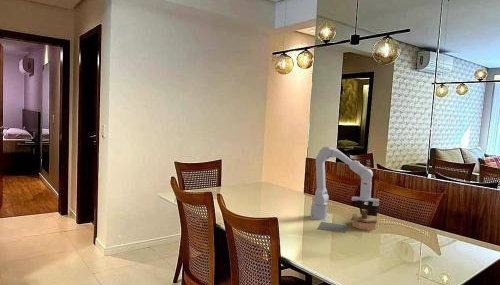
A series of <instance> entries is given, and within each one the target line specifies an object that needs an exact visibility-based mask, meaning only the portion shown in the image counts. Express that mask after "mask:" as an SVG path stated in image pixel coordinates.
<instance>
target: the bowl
mask: <svg viewBox="0 0 500 285" xmlns="http://www.w3.org/2000/svg"><path fill="white" fill-rule="evenodd" d="M376 224H377V222H376V223H368V222H360V221H352V227H354V228H357V229H360V230H367V231H371V230H376Z"/></svg>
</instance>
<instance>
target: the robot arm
mask: <svg viewBox="0 0 500 285" xmlns="http://www.w3.org/2000/svg"><path fill="white" fill-rule="evenodd" d="M329 158H335V159H339V160H341V162H343V163H345V164H347V165H348V166H349V169H350V170H351V171H353V172H354V173H356V174H357V175H358V176H359V178H360V179H361V181H360V190H359V191H360V194H359V196H352V197H351V201H352V202H353V201H355V202H357V204H358V207H359V211H360V215H362V210H363V202H364V203H365V202H368V212H367V215H369V211H370V209H371V207H372V205H373V203H377V204H380V199H379V198H372V184H373V183H372V180H373V179H372V178H373V176H374V172H373V170H372V169H371V168H368V167H367V166H366V165H365V166H364V165H363V164H361V163H360V161H359V160H352V159H351V158H350V157H348V155H346V154H345V153H343V152H342V151H340V150H339V149H338V148H337V147H335V146H333V145H329V146H323V147H322V148H321V149H319V151H318V154H317V156H316V158H315V172H316V173H315V176H316V180H315V181H316V190H315V193H314V197H313V201H314V203H311V207H310V219H311V220H319V221H323V222H327V220H328V218H329V216H328V201H329V199H330V196H329V194H328V189H327V186H326V185H327V184H326V165H325V163H326V161H327V160H329Z"/></svg>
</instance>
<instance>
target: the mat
mask: <svg viewBox="0 0 500 285" xmlns="http://www.w3.org/2000/svg"><path fill="white" fill-rule="evenodd" d="M348 226H349V225H348V224H341V223H334V222H327V221H320V223H319V225H318V227H317V228H316V230H320V231H325V232H333V233H341V234H347V230H348Z"/></svg>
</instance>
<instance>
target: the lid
mask: <svg viewBox="0 0 500 285" xmlns="http://www.w3.org/2000/svg"><path fill="white" fill-rule="evenodd" d="M367 212H368V210H364V209H362V214H359V213H353V214H352V216H351V221H352V222H353V221H360V222H368V223H376V224H377V221H378V220H377V218H378V215H377V216H369V215H367Z"/></svg>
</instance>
